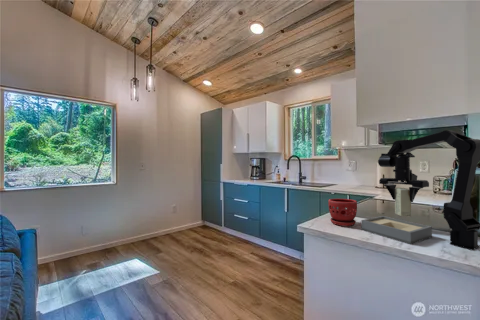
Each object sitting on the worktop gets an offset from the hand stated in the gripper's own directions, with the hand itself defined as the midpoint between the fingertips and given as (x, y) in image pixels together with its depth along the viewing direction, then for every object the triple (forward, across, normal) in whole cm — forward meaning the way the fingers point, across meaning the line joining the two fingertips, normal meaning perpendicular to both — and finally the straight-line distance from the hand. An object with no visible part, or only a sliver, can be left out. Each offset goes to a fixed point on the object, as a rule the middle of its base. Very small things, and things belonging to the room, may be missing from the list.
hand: (402, 200), depth 106 cm
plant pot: (+13, +18, +19) cm, 29 cm away
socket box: (+13, -3, +11) cm, 17 cm away
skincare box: (+7, 0, 0) cm, 7 cm away
